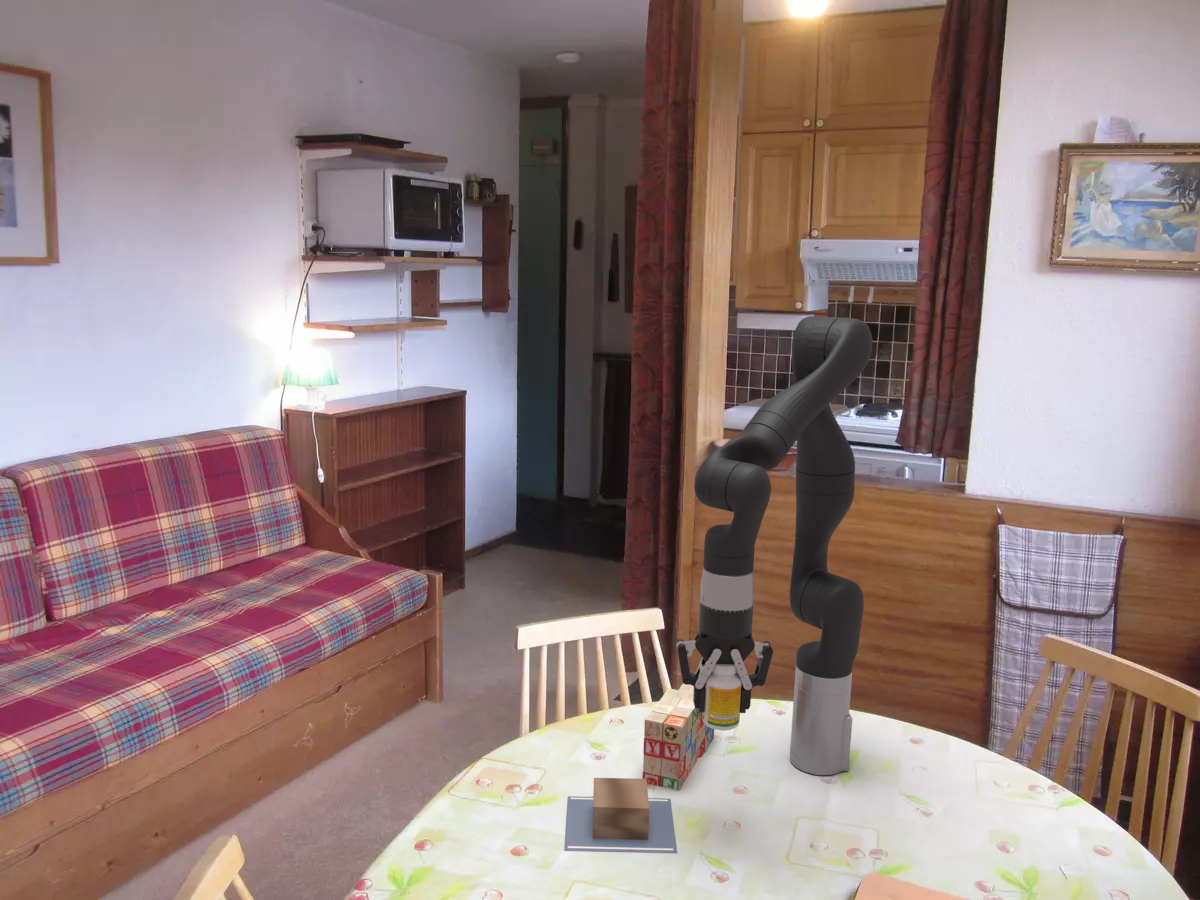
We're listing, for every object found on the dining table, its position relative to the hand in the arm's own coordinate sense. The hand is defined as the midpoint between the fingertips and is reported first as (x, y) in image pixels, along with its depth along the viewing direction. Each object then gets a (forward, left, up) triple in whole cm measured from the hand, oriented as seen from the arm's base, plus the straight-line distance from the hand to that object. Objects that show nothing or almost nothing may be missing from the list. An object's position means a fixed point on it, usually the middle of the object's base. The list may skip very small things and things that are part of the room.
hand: (721, 709), depth 138 cm
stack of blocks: (+4, -20, -20) cm, 29 cm away
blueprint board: (+14, 0, -19) cm, 24 cm away
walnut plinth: (+14, 0, -18) cm, 23 cm away
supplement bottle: (0, 0, -2) cm, 2 cm away
